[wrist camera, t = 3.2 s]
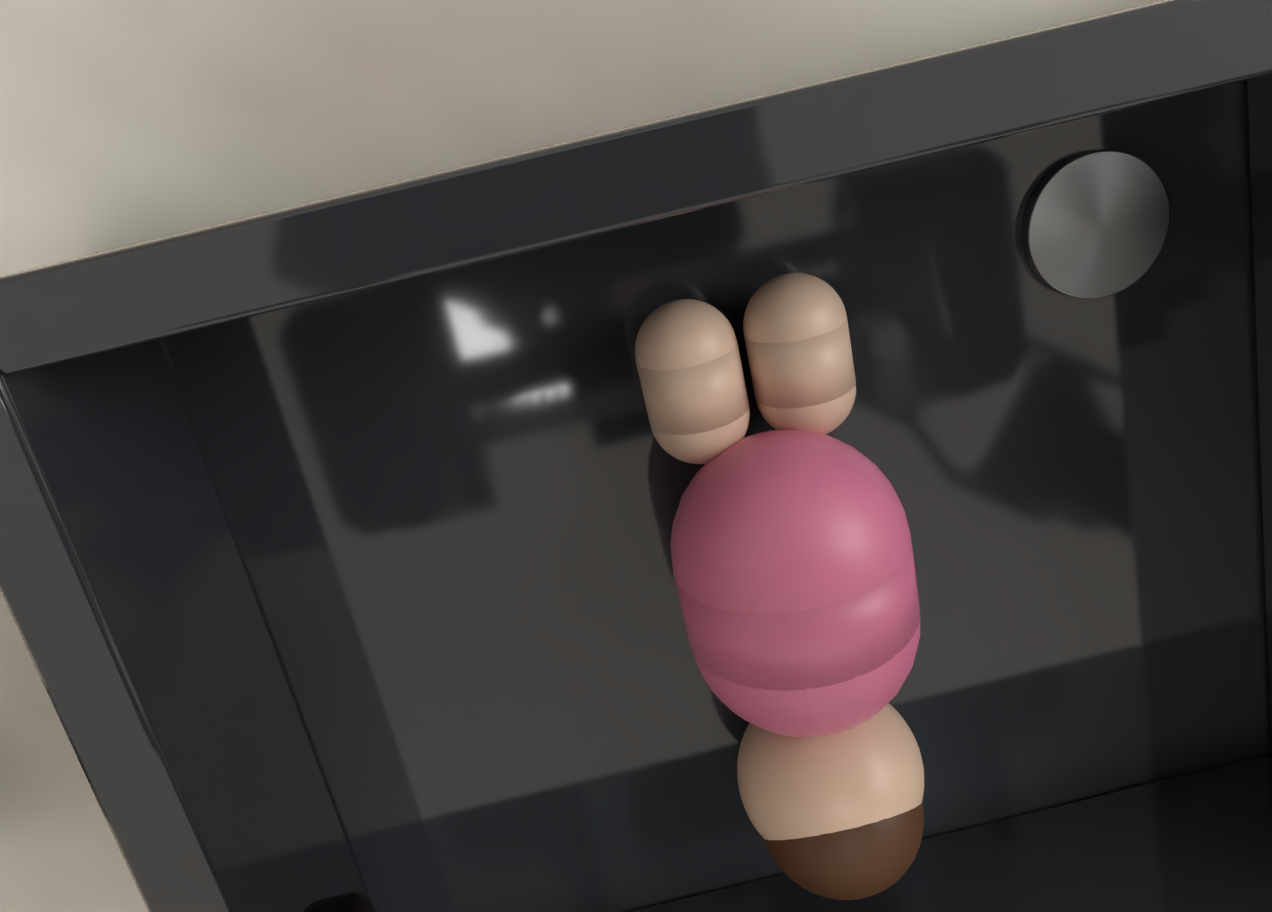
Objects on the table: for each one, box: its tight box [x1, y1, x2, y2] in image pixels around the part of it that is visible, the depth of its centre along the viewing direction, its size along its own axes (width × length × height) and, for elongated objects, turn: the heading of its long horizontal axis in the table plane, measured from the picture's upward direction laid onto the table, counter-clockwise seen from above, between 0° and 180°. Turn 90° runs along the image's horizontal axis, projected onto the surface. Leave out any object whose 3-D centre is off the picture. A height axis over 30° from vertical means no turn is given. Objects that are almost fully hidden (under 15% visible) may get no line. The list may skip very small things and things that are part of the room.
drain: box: [1022, 150, 1170, 299], centre depth 13 cm, size 2×2×1 cm
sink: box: [0, 0, 1272, 912], centre depth 12 cm, size 15×12×4 cm
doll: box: [635, 273, 924, 900], centre depth 12 cm, size 8×3×3 cm, turn 13°
